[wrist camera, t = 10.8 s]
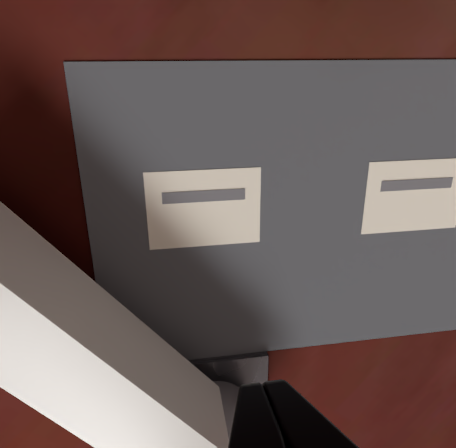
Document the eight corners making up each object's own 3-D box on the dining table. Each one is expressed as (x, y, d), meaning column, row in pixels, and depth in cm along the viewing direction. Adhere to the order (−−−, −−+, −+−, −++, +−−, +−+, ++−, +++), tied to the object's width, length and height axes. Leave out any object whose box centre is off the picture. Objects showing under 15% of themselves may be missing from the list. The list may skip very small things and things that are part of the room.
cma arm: (-25, 157, 15) (-96, 189, 11) (264, 409, 21) (289, 488, 17) (-97, 226, 15) (-193, 282, 11) (207, 451, 22) (218, 538, 18)
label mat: (536, 58, 18) (542, 58, 17) (470, 325, 22) (474, 328, 22) (64, 61, 15) (62, 61, 14) (108, 366, 20) (108, 369, 19)
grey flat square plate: (266, 350, 21) (268, 356, 20) (263, 436, 23) (265, 442, 22) (149, 364, 20) (149, 369, 19) (158, 451, 22) (158, 458, 22)
